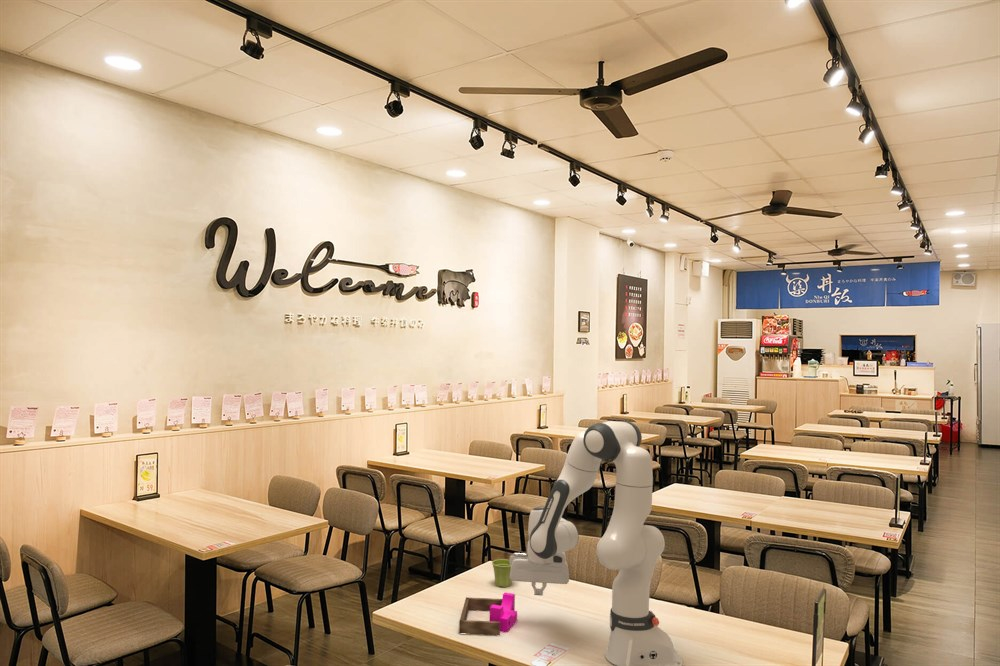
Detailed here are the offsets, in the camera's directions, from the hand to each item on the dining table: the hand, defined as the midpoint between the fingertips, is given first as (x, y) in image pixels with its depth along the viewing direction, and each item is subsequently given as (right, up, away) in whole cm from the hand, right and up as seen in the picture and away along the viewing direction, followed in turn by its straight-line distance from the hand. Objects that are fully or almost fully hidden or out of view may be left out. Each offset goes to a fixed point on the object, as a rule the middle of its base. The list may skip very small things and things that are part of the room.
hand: (538, 594), depth 227 cm
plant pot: (-12, -11, +37) cm, 40 cm away
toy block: (-11, -10, 0) cm, 15 cm away
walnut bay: (-19, -9, 0) cm, 21 cm away
